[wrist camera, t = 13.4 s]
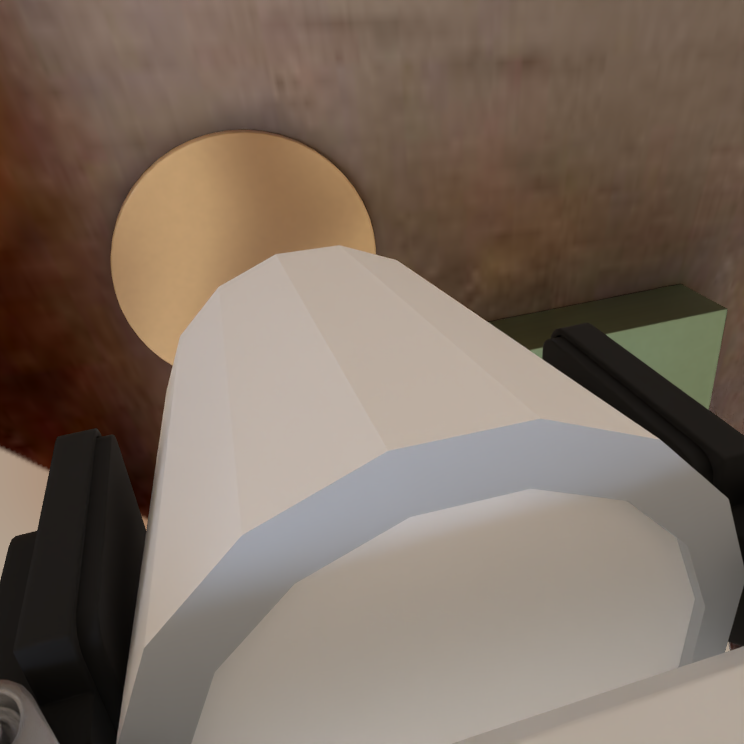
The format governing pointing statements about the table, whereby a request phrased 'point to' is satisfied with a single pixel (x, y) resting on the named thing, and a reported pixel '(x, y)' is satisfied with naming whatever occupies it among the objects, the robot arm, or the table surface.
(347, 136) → the table surface
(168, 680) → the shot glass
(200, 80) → the table surface
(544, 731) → the robot arm
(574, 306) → the green rectangular block
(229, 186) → the coaster
